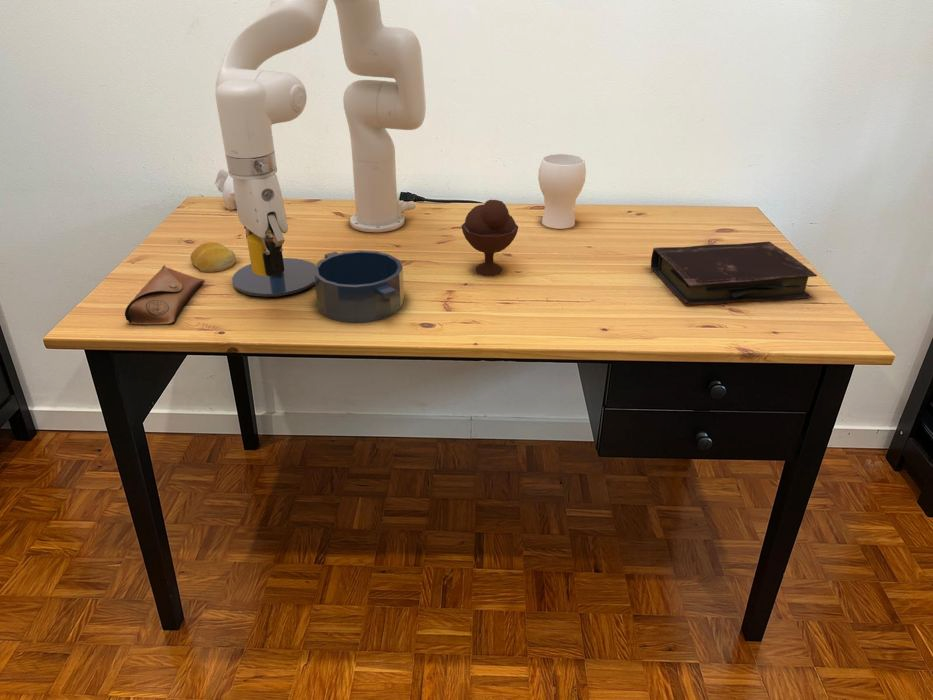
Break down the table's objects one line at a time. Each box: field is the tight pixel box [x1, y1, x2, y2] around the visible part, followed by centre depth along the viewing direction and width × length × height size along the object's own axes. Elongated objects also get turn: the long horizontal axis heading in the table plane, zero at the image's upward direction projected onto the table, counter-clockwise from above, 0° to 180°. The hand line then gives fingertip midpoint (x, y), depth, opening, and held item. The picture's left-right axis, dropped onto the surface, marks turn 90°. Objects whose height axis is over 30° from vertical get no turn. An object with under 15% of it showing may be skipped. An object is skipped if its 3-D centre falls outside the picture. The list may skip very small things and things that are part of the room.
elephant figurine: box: [214, 169, 237, 211], centre depth 176 cm, size 10×12×9 cm
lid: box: [231, 257, 317, 297], centre depth 140 cm, size 17×17×6 cm
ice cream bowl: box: [461, 199, 519, 277], centre depth 142 cm, size 11×11×15 cm
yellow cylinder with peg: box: [246, 231, 273, 276], centre depth 123 cm, size 5×5×7 cm
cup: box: [537, 153, 587, 230], centre depth 166 cm, size 11×11×15 cm
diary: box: [650, 241, 818, 305], centre depth 141 cm, size 19×25×5 cm
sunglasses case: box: [124, 264, 205, 326], centre depth 132 cm, size 18×7×7 cm
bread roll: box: [190, 241, 236, 273], centre depth 147 cm, size 8×9×4 cm
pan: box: [313, 250, 405, 324], centre depth 132 cm, size 16×21×7 cm
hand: (267, 266), depth 125 cm, fingers closed on yellow cylinder with peg, 5 cm apart
